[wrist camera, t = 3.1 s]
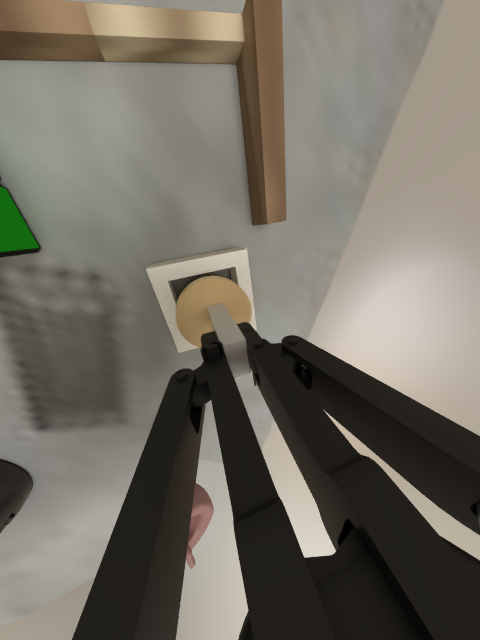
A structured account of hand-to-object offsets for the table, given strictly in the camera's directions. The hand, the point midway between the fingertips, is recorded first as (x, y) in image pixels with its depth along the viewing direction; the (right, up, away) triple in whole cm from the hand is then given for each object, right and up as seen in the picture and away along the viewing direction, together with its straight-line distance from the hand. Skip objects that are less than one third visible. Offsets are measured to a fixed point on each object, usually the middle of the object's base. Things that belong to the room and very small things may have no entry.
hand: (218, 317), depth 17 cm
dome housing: (-2, +3, +6) cm, 7 cm away
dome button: (-2, +2, +4) cm, 5 cm away
